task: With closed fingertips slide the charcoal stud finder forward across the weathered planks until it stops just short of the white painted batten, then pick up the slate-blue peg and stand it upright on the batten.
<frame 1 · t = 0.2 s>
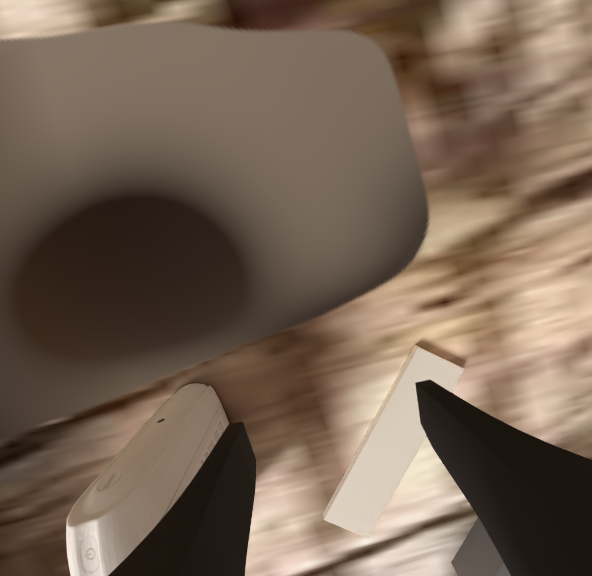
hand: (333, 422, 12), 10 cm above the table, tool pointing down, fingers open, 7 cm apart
batten: (389, 441, 23), on the table
light grey rounded block: (212, 438, 23), on the table
finder: (504, 552, 25), on the table
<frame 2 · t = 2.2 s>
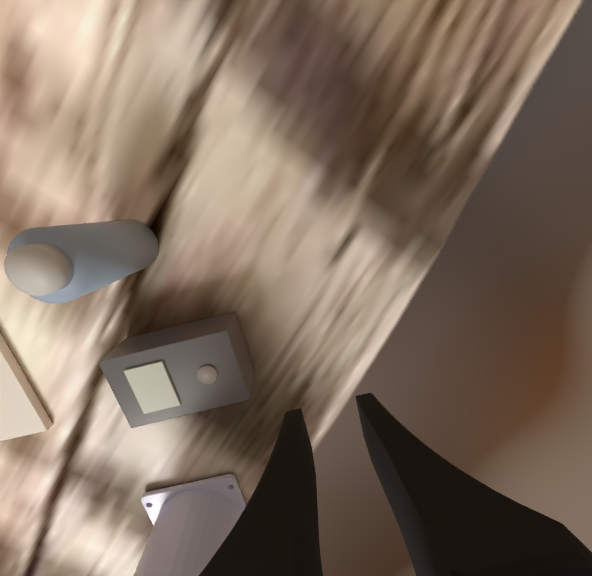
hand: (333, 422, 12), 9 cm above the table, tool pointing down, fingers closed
peg: (133, 245, 19), on the table
finder: (193, 353, 21), on the table
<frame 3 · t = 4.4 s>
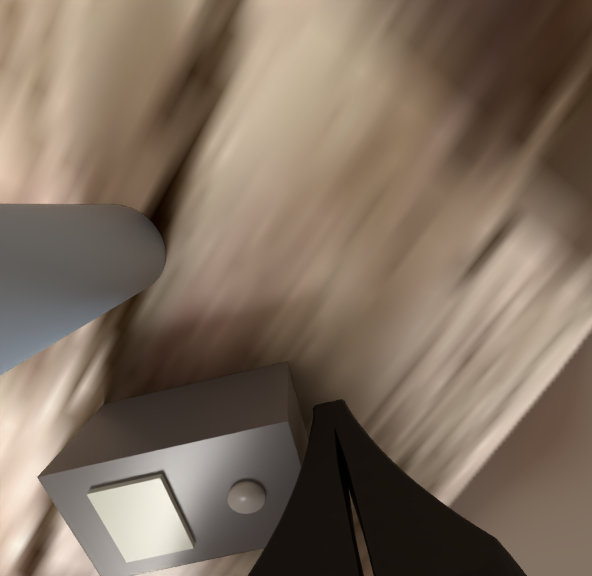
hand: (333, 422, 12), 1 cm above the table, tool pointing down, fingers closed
peg: (120, 250, 10), on the table
finder: (213, 429, 13), on the table, touching gripper
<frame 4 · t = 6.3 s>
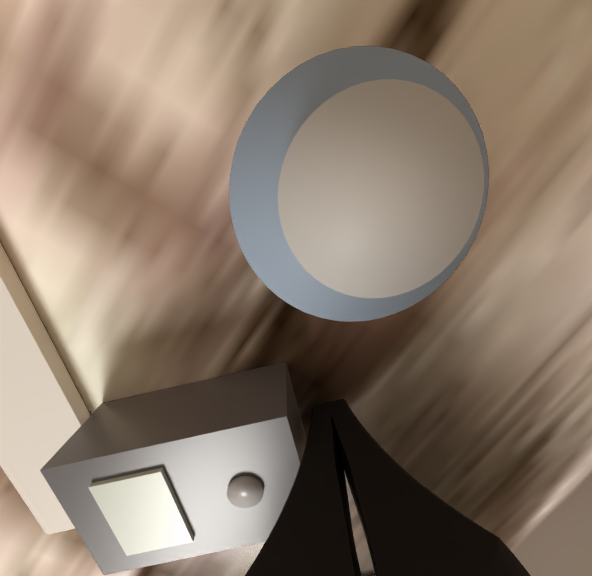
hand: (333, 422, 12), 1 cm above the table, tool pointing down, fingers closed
batten: (13, 369, 12), on the table
peg: (310, 204, 10), on the table
finder: (212, 425, 13), on the table
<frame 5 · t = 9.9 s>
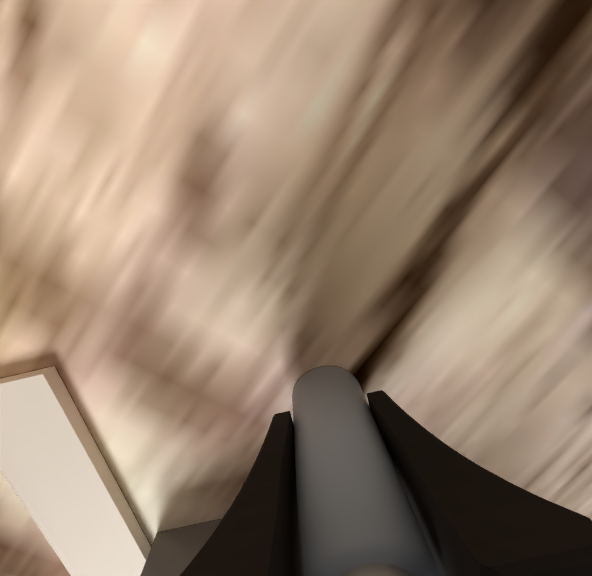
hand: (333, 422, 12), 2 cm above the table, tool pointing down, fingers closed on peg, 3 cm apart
batten: (89, 511, 14), on the table
peg: (327, 396, 13), on the table, touching gripper
finder: (244, 544, 16), on the table
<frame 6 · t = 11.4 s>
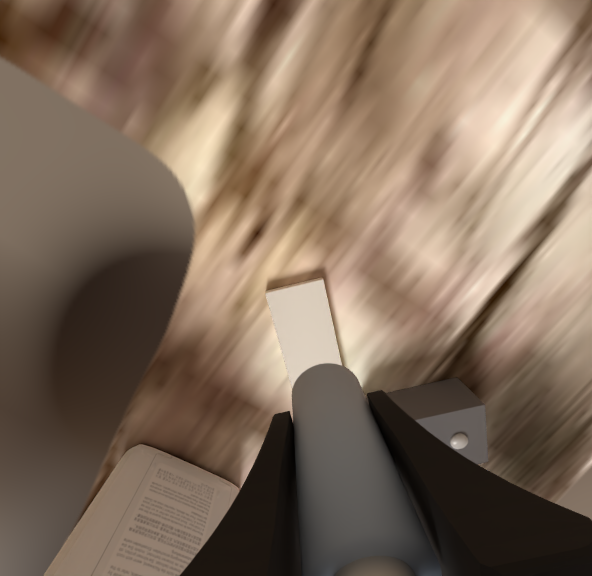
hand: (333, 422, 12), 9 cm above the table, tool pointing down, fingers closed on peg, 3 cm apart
batten: (318, 381, 22), on the table
peg: (326, 394, 13), point 8 cm above the table, touching gripper
light grey rounded block: (182, 474, 24), on the table
finder: (409, 412, 23), on the table
when the fingers open (3 cm above the table, at t = 13.0 s): peg stays where it is, resting on batten.
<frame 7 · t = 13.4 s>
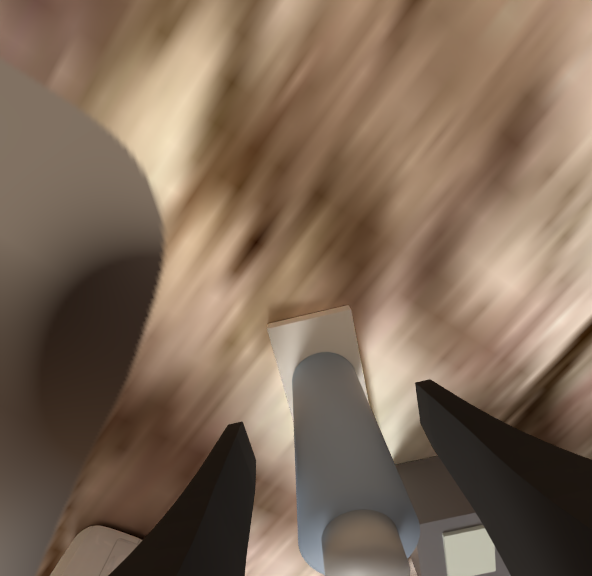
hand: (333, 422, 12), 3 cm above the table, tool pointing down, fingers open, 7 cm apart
batten: (338, 444, 16), on the table
peg: (324, 381, 14), point 1 cm above the table, touching batten
light grey rounded block: (156, 558, 18), on the table
finder: (457, 480, 18), on the table
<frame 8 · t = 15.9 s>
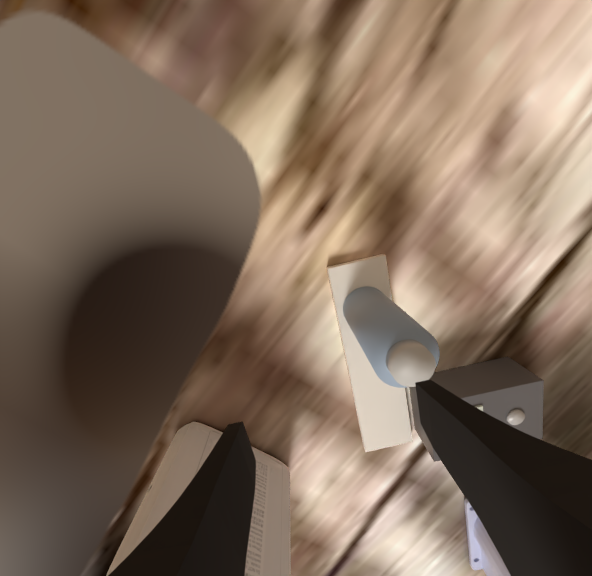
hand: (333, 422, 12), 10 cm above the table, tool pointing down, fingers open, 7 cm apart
batten: (372, 359, 22), on the table
peg: (365, 308, 20), point 1 cm above the table, touching batten
light grey rounded block: (232, 453, 24), on the table
finder: (457, 391, 24), on the table
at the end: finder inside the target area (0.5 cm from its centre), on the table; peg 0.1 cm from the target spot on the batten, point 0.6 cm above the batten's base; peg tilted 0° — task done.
